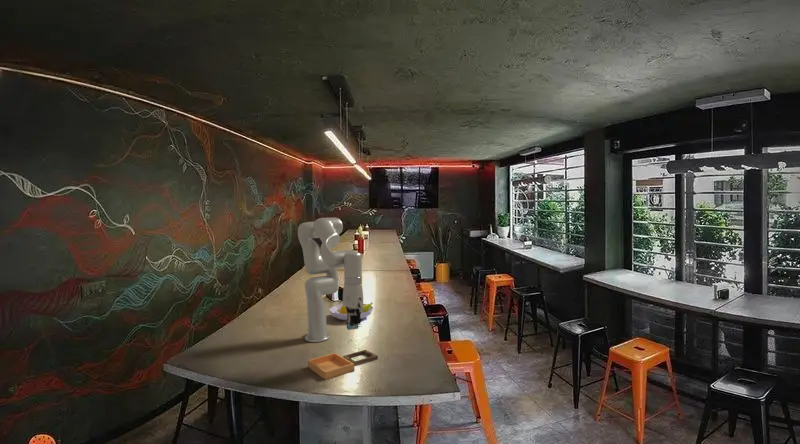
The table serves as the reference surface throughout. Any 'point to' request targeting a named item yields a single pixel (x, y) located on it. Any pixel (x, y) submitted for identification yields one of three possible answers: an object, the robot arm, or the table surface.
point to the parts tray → (330, 366)
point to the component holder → (362, 361)
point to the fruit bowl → (341, 311)
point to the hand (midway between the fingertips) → (353, 322)
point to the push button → (351, 319)
